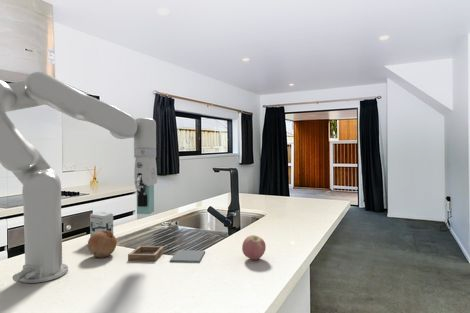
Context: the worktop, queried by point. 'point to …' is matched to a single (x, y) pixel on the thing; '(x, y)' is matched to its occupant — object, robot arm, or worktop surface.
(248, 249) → the apple
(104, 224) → the ink box
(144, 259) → the pocket frame
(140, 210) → the part
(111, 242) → the onion
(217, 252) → the worktop surface
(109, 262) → the worktop surface
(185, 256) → the mat
